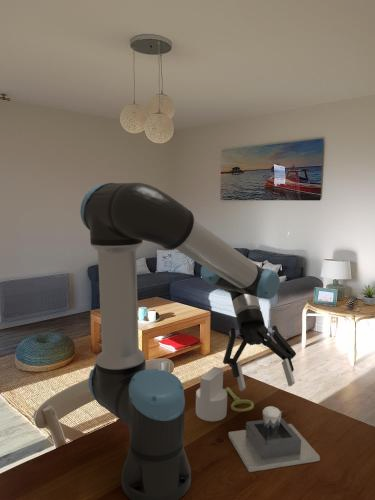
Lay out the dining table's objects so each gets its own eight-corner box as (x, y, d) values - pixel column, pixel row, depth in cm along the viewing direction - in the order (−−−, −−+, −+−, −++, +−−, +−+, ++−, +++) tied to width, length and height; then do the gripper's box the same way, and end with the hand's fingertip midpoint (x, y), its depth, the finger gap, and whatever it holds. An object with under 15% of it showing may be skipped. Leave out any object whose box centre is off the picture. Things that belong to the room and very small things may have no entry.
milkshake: (273, 452, 96) (275, 413, 94) (257, 441, 100) (259, 404, 99) (286, 445, 99) (288, 408, 97) (269, 435, 103) (271, 398, 101)
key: (227, 392, 128) (227, 385, 128) (257, 408, 119) (257, 401, 119) (211, 399, 124) (211, 392, 124) (240, 416, 115) (241, 409, 114)
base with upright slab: (218, 424, 109) (219, 383, 108) (190, 415, 114) (190, 375, 112) (231, 410, 117) (233, 371, 115) (204, 401, 121) (205, 364, 120)
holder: (249, 472, 91) (249, 453, 90) (228, 436, 104) (228, 419, 103) (319, 460, 95) (320, 442, 94) (290, 427, 108) (291, 411, 108)
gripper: (283, 317, 121) (305, 387, 108) (203, 321, 115) (217, 396, 102) (292, 305, 115) (317, 377, 102) (209, 308, 109) (225, 386, 97)
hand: (267, 387), depth 102 cm, fingers open, 13 cm apart
